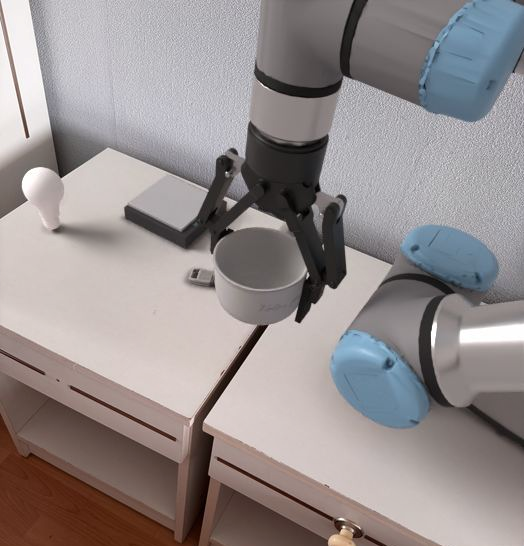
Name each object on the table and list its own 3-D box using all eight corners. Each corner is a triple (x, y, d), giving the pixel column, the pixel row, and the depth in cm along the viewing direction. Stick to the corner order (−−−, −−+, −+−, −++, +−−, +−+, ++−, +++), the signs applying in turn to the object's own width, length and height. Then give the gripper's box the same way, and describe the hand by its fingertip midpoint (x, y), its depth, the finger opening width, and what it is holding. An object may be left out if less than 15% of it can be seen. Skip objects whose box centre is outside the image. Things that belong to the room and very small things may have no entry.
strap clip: (187, 283, 83) (187, 263, 80) (192, 270, 85) (192, 251, 82) (239, 293, 83) (241, 274, 80) (242, 280, 85) (245, 261, 82)
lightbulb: (54, 211, 90) (41, 154, 81) (79, 227, 88) (68, 171, 79) (25, 228, 86) (8, 170, 78) (51, 245, 84) (36, 187, 76)
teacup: (263, 353, 58) (273, 305, 52) (192, 305, 62) (192, 255, 55) (328, 290, 66) (342, 241, 60) (261, 250, 69) (268, 200, 63)
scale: (226, 212, 96) (227, 198, 93) (185, 249, 88) (185, 235, 86) (169, 185, 98) (169, 171, 96) (125, 218, 91) (123, 204, 89)
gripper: (422, 155, 46) (357, 318, 63) (205, 69, 51) (200, 241, 68) (393, 194, 42) (332, 357, 59) (159, 96, 47) (166, 272, 64)
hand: (261, 295), depth 64 cm, fingers closed on teacup, 11 cm apart
